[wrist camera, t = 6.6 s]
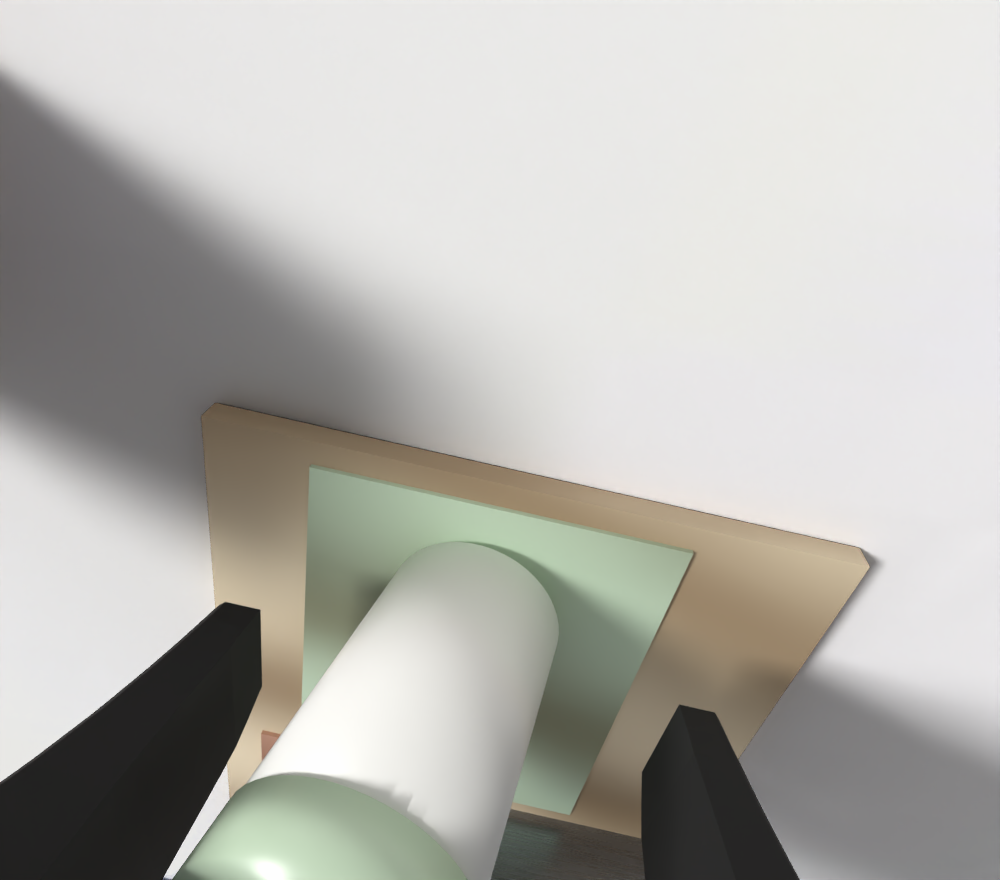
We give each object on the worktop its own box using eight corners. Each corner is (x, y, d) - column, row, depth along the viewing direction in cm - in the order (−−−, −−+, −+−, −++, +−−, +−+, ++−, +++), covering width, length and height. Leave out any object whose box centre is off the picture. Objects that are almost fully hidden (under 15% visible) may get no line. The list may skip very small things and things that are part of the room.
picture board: (612, 922, 20) (613, 945, 19) (241, 838, 20) (232, 859, 19) (859, 547, 11) (872, 570, 11) (215, 403, 11) (198, 418, 11)
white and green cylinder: (544, 708, 13) (436, 1103, 7) (385, 655, 13) (181, 983, 8) (577, 570, 11) (469, 949, 6) (394, 518, 12) (149, 815, 6)
